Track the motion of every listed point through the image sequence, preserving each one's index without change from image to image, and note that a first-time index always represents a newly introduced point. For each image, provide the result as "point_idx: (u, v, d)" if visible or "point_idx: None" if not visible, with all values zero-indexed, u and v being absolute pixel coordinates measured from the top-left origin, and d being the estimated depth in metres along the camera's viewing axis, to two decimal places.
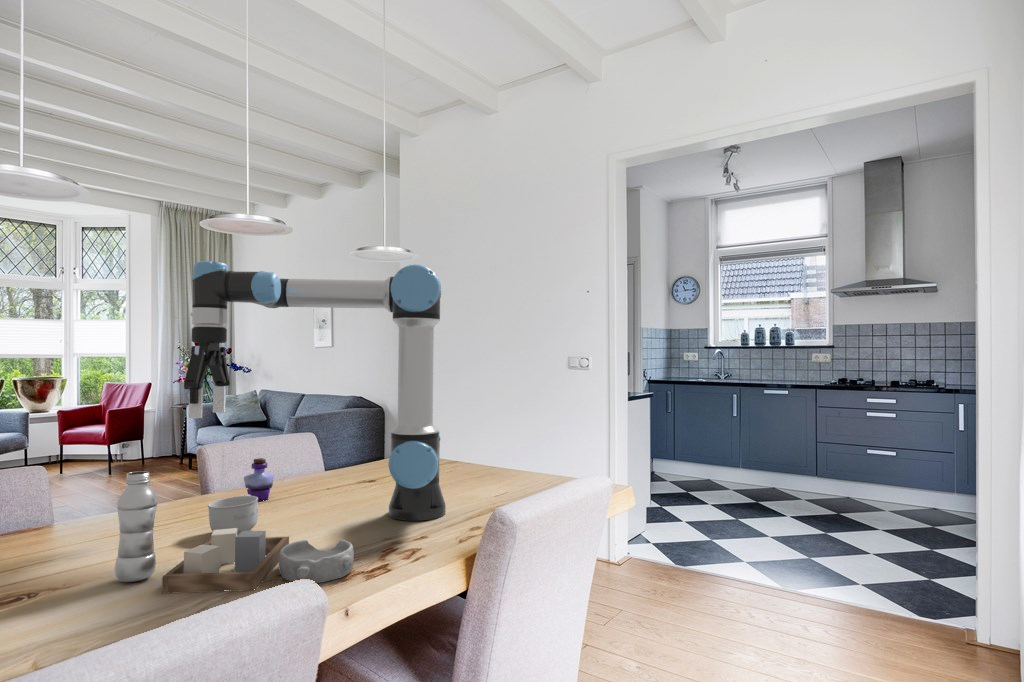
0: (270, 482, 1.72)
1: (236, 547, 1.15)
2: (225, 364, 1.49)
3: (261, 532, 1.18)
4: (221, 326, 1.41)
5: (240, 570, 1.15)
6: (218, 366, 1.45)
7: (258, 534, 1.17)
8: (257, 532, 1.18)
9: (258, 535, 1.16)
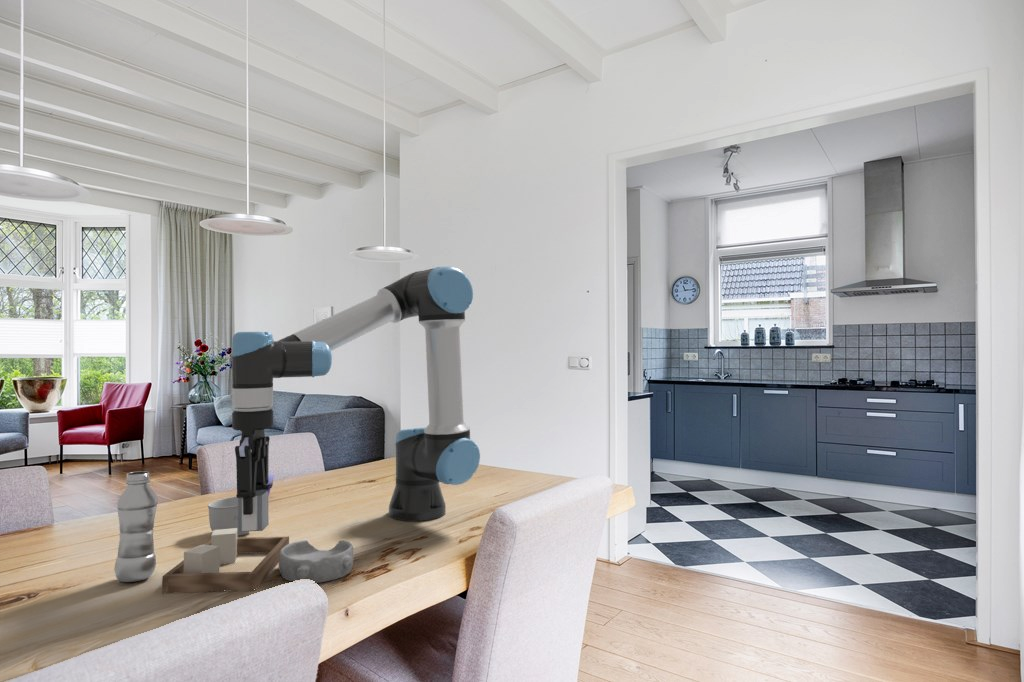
0: (270, 482, 1.72)
1: (239, 506, 1.16)
2: (267, 458, 1.23)
3: (264, 491, 1.19)
4: (267, 409, 1.17)
5: None
6: (261, 458, 1.19)
7: (260, 493, 1.17)
8: (260, 491, 1.19)
9: (261, 494, 1.17)
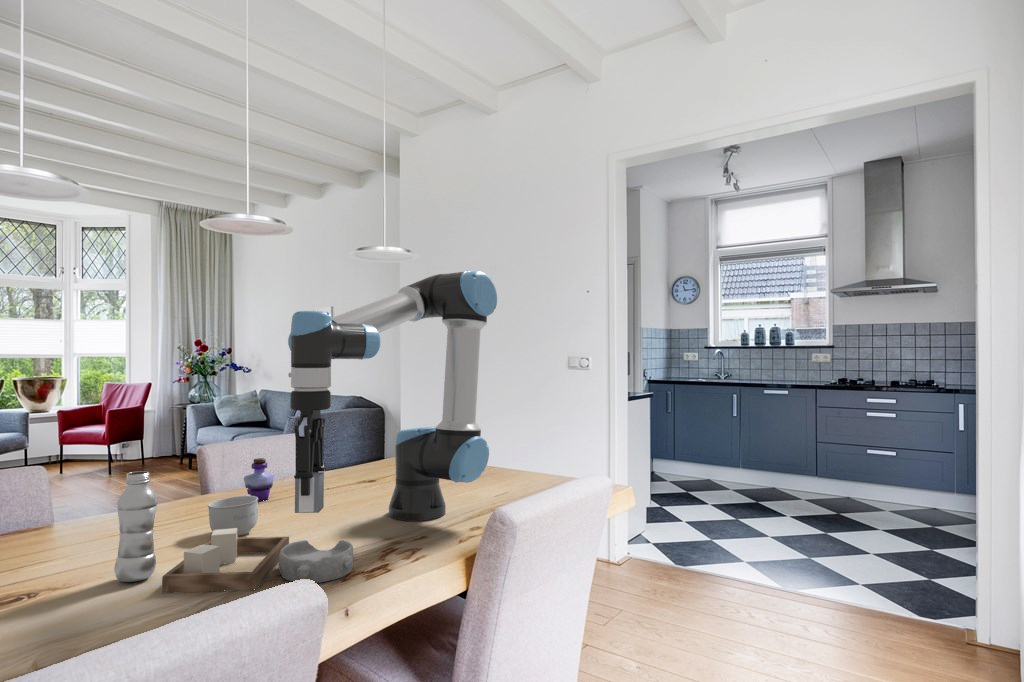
0: (270, 482, 1.72)
1: (296, 486, 1.14)
2: (322, 440, 1.22)
3: (320, 473, 1.17)
4: (325, 389, 1.16)
5: None
6: (317, 439, 1.18)
7: (317, 474, 1.16)
8: (316, 473, 1.17)
9: (317, 475, 1.15)
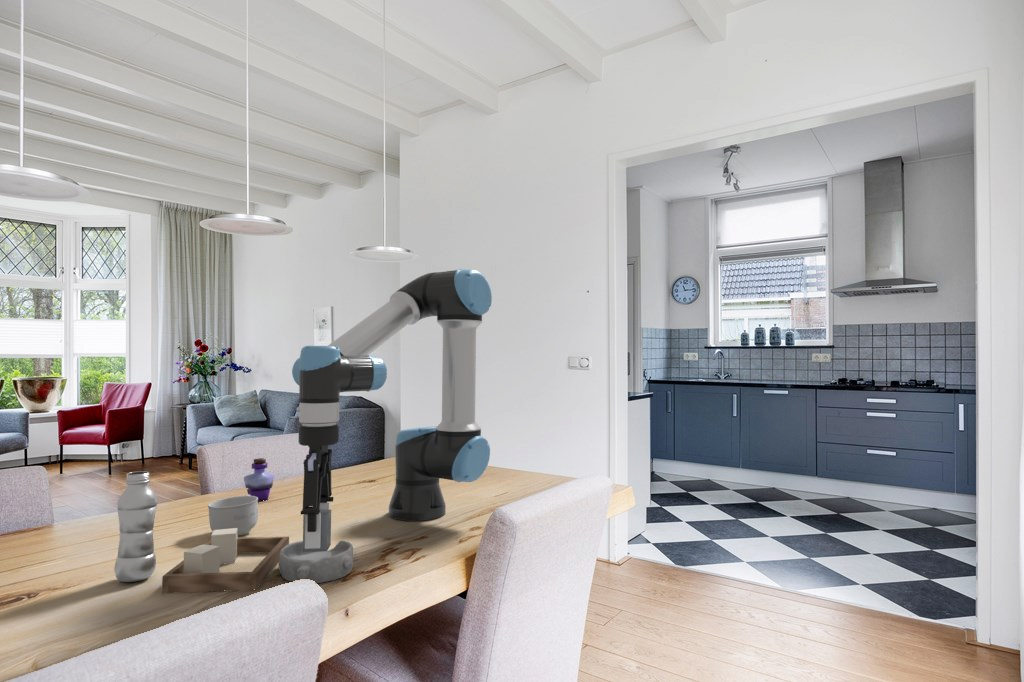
0: (270, 482, 1.72)
1: (304, 525, 1.14)
2: (330, 471, 1.22)
3: (327, 511, 1.17)
4: (334, 424, 1.16)
5: (308, 549, 1.14)
6: (326, 473, 1.18)
7: (325, 512, 1.15)
8: (323, 511, 1.17)
9: (326, 513, 1.15)
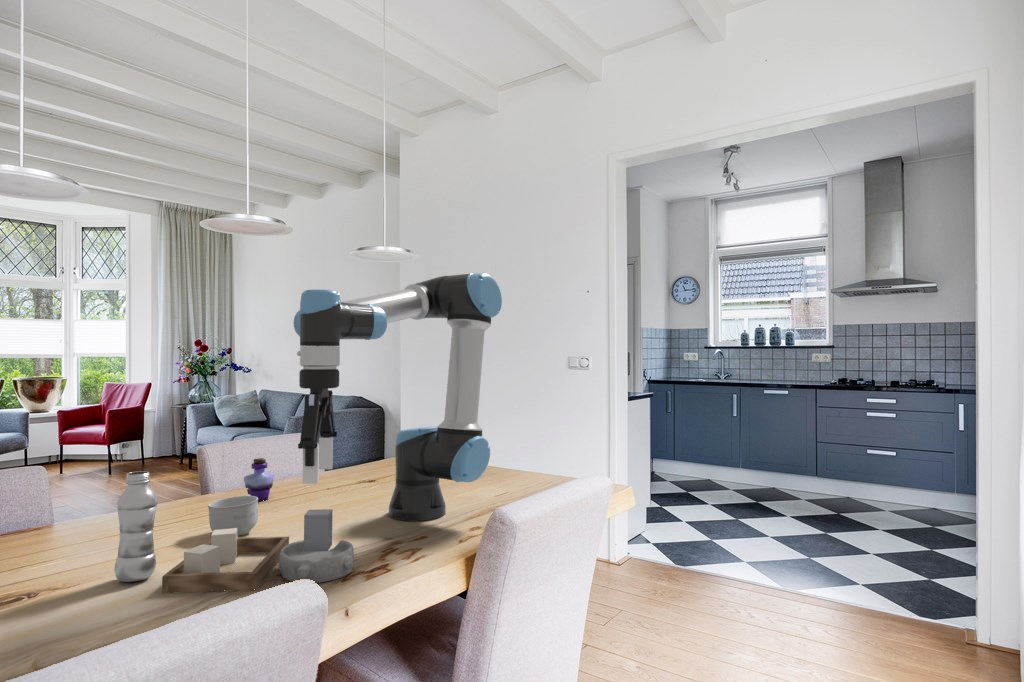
0: (270, 482, 1.72)
1: (305, 525, 1.14)
2: (332, 411, 1.24)
3: (328, 510, 1.17)
4: (334, 368, 1.16)
5: (309, 548, 1.14)
6: (328, 414, 1.20)
7: (326, 512, 1.16)
8: (324, 510, 1.17)
9: (326, 513, 1.15)
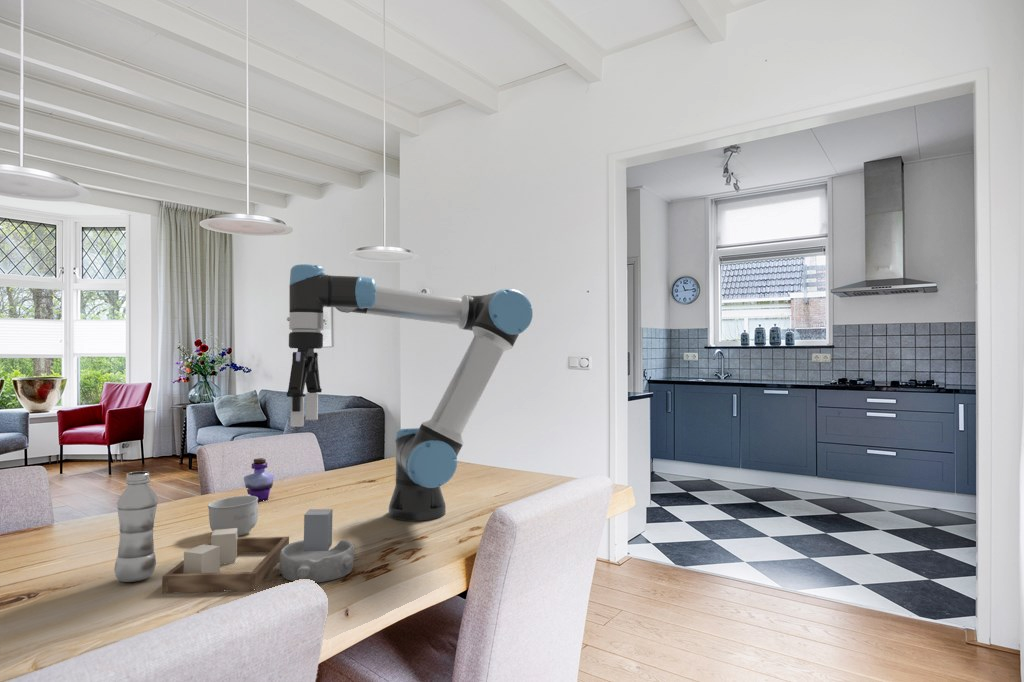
0: (270, 482, 1.72)
1: (305, 525, 1.14)
2: (317, 370, 1.45)
3: (328, 510, 1.17)
4: (318, 331, 1.37)
5: (309, 548, 1.14)
6: (313, 372, 1.41)
7: (326, 512, 1.16)
8: (324, 510, 1.17)
9: (326, 513, 1.15)
